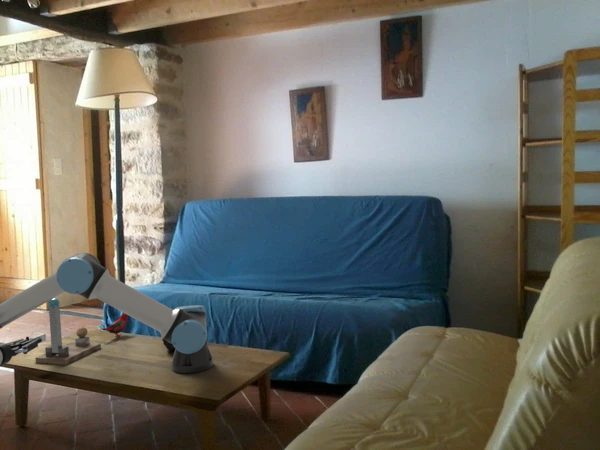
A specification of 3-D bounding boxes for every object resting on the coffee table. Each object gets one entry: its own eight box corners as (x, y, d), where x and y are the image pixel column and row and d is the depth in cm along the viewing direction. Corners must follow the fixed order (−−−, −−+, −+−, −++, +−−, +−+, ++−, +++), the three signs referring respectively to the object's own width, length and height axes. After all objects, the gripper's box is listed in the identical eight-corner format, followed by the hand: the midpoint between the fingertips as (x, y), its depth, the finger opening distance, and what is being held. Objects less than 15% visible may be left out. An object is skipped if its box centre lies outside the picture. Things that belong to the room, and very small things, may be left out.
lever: (58, 356, 214) (54, 299, 212) (49, 355, 215) (45, 299, 213) (65, 353, 217) (61, 297, 216) (56, 352, 218) (52, 297, 217)
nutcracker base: (65, 364, 211) (64, 341, 210) (35, 362, 214) (34, 339, 214) (100, 348, 232) (99, 326, 231) (72, 346, 235) (71, 325, 235)
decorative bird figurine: (132, 332, 255) (130, 311, 254) (102, 343, 239) (101, 320, 238) (127, 332, 256) (126, 311, 255) (97, 342, 240) (96, 320, 240)
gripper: (-20, 365, 189) (30, 345, 211) (11, 367, 185) (59, 347, 208) (-22, 344, 188) (29, 326, 211) (9, 346, 185) (58, 328, 207)
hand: (44, 337), depth 209 cm, fingers closed
